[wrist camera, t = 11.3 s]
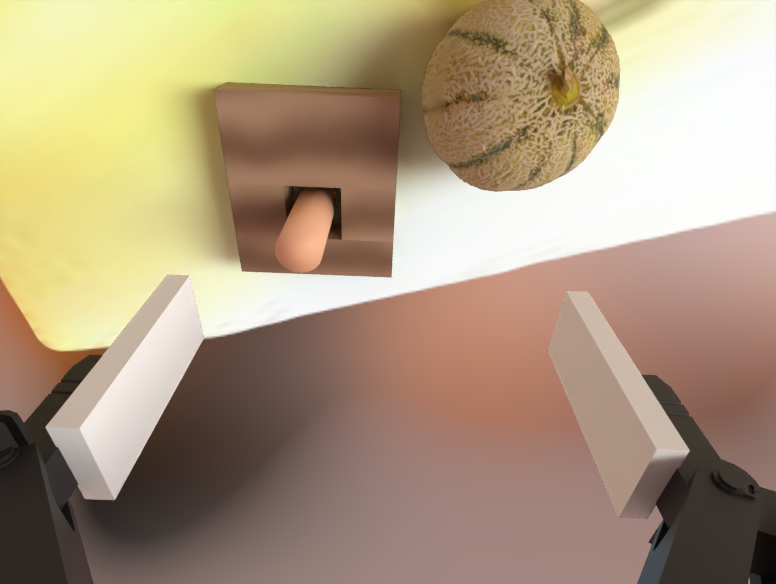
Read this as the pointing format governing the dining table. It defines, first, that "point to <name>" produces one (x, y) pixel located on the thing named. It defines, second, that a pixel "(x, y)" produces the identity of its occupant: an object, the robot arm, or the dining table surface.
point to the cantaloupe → (520, 92)
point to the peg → (306, 229)
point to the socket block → (311, 169)
